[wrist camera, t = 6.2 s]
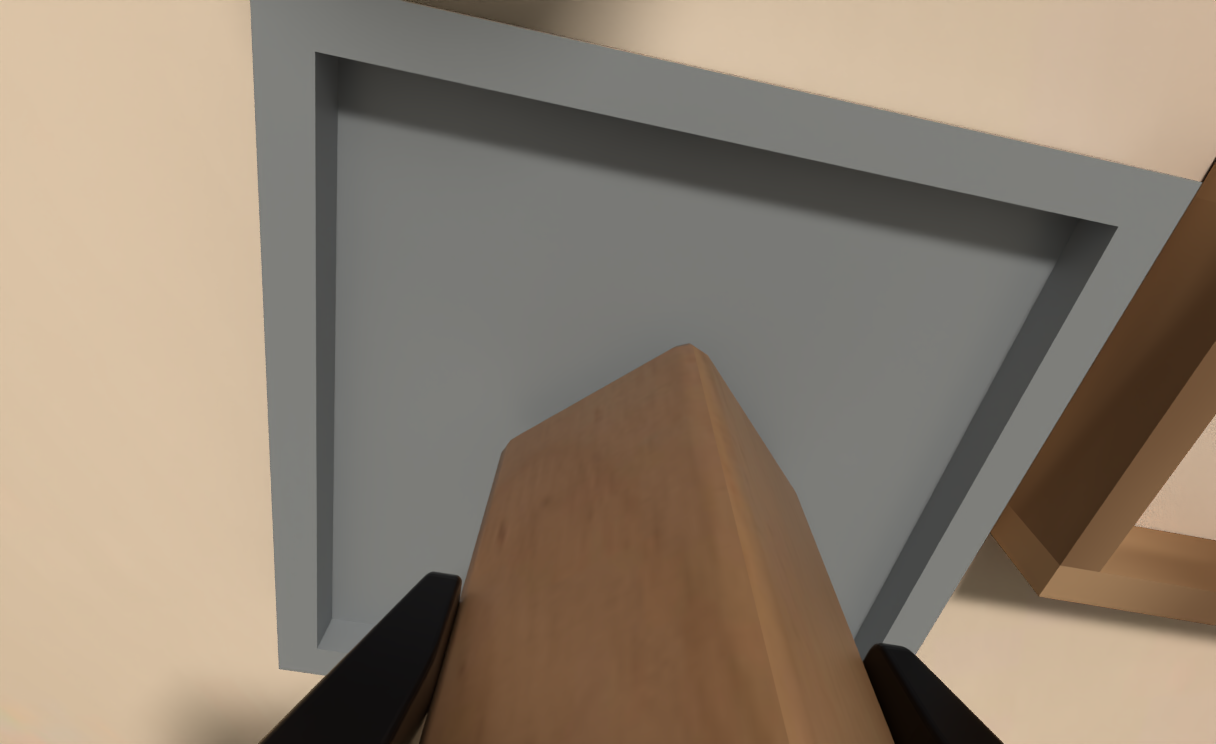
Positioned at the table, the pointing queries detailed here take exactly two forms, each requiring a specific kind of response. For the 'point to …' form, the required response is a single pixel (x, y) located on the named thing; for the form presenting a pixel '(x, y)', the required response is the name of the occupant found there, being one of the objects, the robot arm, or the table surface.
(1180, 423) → the walnut collar
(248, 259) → the table surface
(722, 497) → the wooden block
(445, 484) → the slate tray
